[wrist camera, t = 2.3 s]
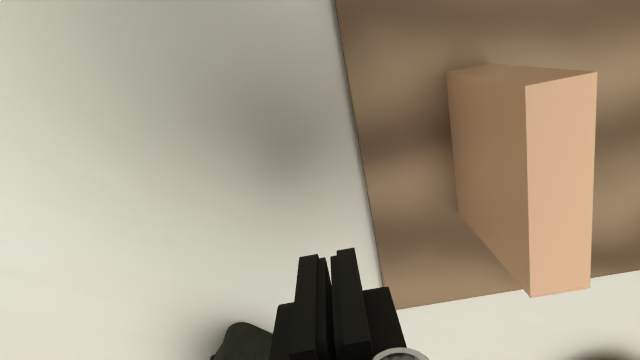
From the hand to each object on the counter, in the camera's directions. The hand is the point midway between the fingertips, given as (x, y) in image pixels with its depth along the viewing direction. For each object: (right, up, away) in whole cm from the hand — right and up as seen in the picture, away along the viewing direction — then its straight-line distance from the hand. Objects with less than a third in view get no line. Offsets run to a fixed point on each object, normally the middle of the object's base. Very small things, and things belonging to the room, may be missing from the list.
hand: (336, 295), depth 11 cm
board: (+12, +7, +10) cm, 17 cm away
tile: (+8, +5, +9) cm, 13 cm away
